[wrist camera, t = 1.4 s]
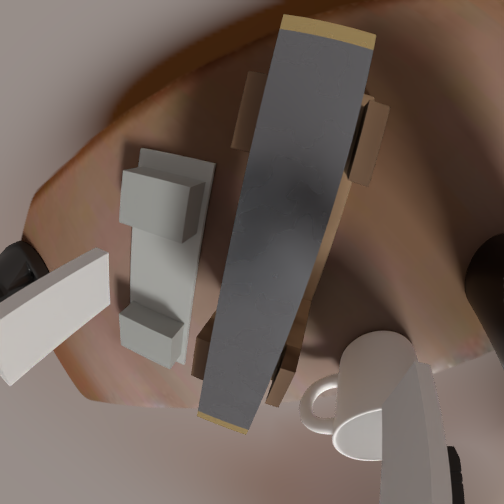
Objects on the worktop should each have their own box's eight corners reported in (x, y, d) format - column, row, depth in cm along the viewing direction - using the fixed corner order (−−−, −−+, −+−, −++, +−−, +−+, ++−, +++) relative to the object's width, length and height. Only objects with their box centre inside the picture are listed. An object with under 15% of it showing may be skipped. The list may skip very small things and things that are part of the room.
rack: (231, 321, 31) (189, 390, 21) (290, 77, 21) (257, 35, 11) (293, 342, 30) (270, 421, 20) (372, 99, 20) (398, 69, 10)
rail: (259, 399, 23) (246, 434, 19) (215, 382, 24) (197, 416, 20) (367, 58, 12) (376, 35, 9) (296, 41, 13) (283, 14, 10)
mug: (314, 394, 32) (300, 466, 22) (297, 341, 30) (276, 418, 20) (415, 377, 27) (426, 451, 18) (413, 319, 25) (434, 396, 16)
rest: (133, 338, 37) (118, 352, 34) (143, 147, 27) (121, 150, 23) (185, 362, 35) (173, 380, 32) (216, 163, 25) (199, 167, 22)
